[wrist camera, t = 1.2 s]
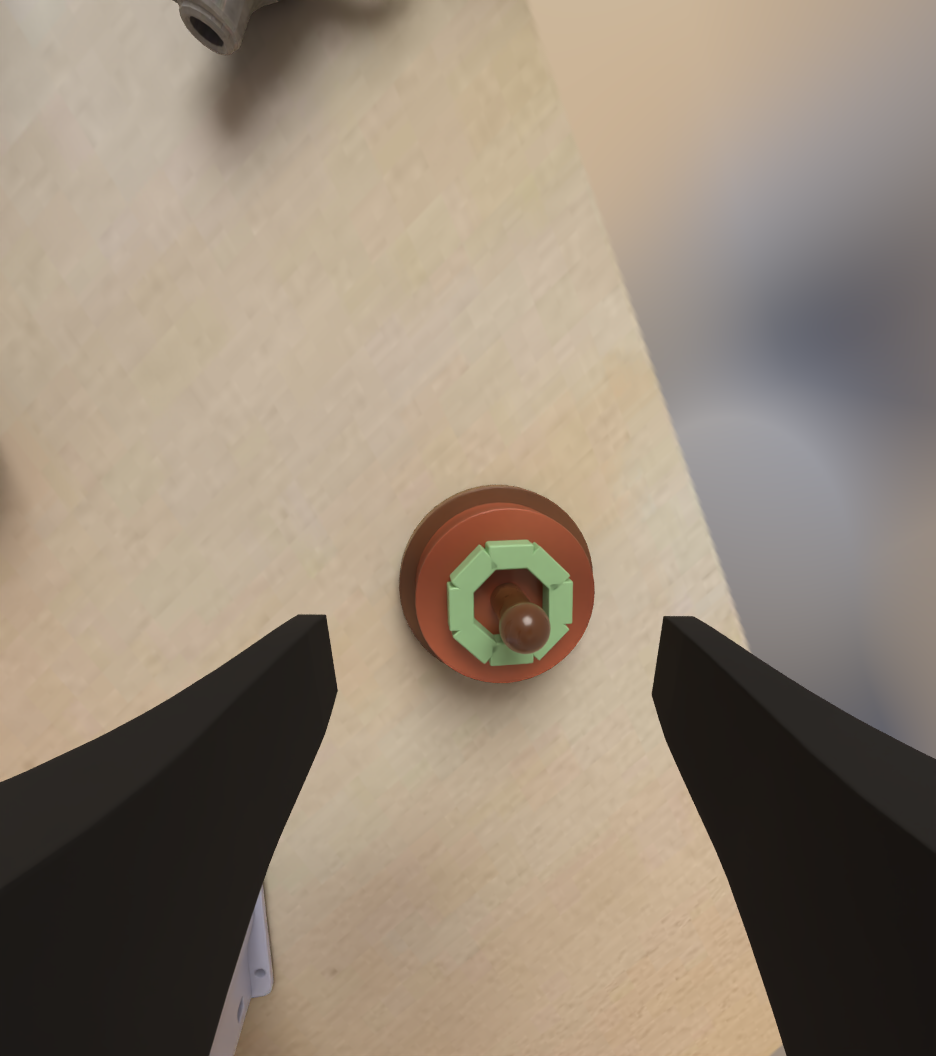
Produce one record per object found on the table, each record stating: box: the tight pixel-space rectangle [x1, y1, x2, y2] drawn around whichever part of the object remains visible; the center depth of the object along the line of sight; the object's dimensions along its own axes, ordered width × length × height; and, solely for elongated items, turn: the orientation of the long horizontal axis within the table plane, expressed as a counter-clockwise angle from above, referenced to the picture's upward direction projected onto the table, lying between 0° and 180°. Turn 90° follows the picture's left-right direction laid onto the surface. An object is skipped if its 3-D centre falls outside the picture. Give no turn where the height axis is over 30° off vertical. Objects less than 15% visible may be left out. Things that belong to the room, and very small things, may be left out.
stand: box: [399, 485, 595, 683], centre depth 19 cm, size 9×9×7 cm
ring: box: [447, 540, 573, 666], centre depth 19 cm, size 5×5×1 cm
